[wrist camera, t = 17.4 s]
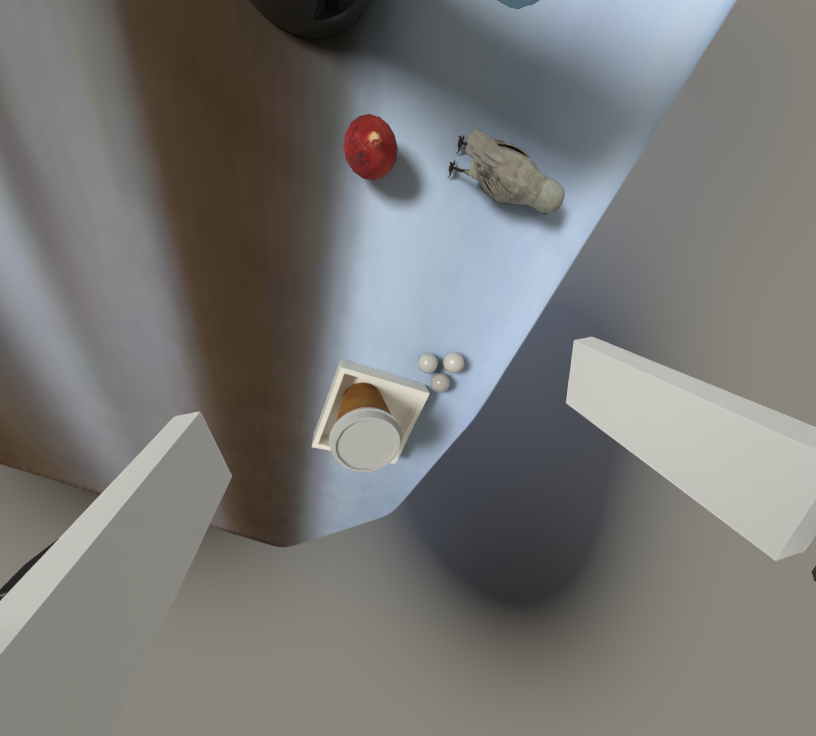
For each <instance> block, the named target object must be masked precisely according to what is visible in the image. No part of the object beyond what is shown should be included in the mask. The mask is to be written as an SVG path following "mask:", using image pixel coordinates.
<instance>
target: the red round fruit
mask: <svg viewBox="0 0 816 736" xmlns="http://www.w3.org/2000/svg"><path fill="white" fill-rule="evenodd" d="M344 151H345V156H346V160H347V162H348V164H349V165H350V167H351V168H352V170H353V172H355V173H356V174H358V175H359V176H360V177H362V178H364V179H370V180H375V179H379V178H382V177H384V176H385V175H386V174H387V173H388V172H389V171H391V169H392V167H393V165H394V163H395V161H396V156H397V144H396V139H395V135H394V133H393V132H392V130H391V128H390V126H389V125H388V124H387V123H386V122H385V121H384V120H382V119H381V118H380V117H377V116H374V115H371V114H367V115H363V116H359V117H358V118H356V119H355V120H354V121H353V122H352V123H351V124H350V126H349V128H348V130H347V131H346V133H345V139H344Z"/></svg>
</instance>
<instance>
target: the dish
mask: <svg viewBox="0 0 816 736" xmlns="http://www.w3.org/2000/svg"><path fill="white" fill-rule="evenodd" d="M361 382H364V383H369V384H372V385H374V386H375V387H376V388H377V389H378V390H379V391H380V394H381V395H382V397H383V399H384V401H385V403H386V405H387V407H388V409H389V411H390V413H391V415H392V416H393V417H394V418H395V419H396V420H397V421H398V423H399V424H400V427H401V430H402V442H401V445H400V448H399V451H398V453H397V455H396V456H395V458H394V459H393V460H392V461H391V462H390V463H394V464H396V462H397V460H398V458H399V456H400V454H401V452H402V450H403V448H404V446H405V443H406V441H407V439H408V437H409V435H410V433H411V431H412V429H413V427H414V425H415V423H416V421H417V419H418V417H419V415H420V413H421V410H422V408H423V406H424V404H425V402H426V400H427V398H428V396H429V394H430V393H429V391H428V389H427V387H426V386H425V384H422V383H419V382H416V381H413V380H409V379H406V378H403V377H400V376H396V375H393V374H390V373H387V372H383V371H380V370H377V369H374V368H370V367H367V366H364V365H361V364H357V363H354V362H351V361H348V360H344V359H341V361H340V363H339V366H338V369H337V372H336V374H335V377H334V380H333V383H332V385H331V388H330V391H329V394H328V396H327V399H326V402H325V405H324V407H323V410H322V413H321V416H320V419H319V421H318V424H317V427H316V430H315V432H314V436H313V442H312V447H315V448H320V449H325V450H330V446H329V436H330V432H331V430H332V428H333V426H334V425H335V423H336V420H337V416H338V413H339V409H340V406H341V402H342V398H343V395H344V392H345V391H346V390H347V389H348V388H349V387H350V386H352V385H354V384H356V383H361ZM330 451H331V450H330Z"/></svg>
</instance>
